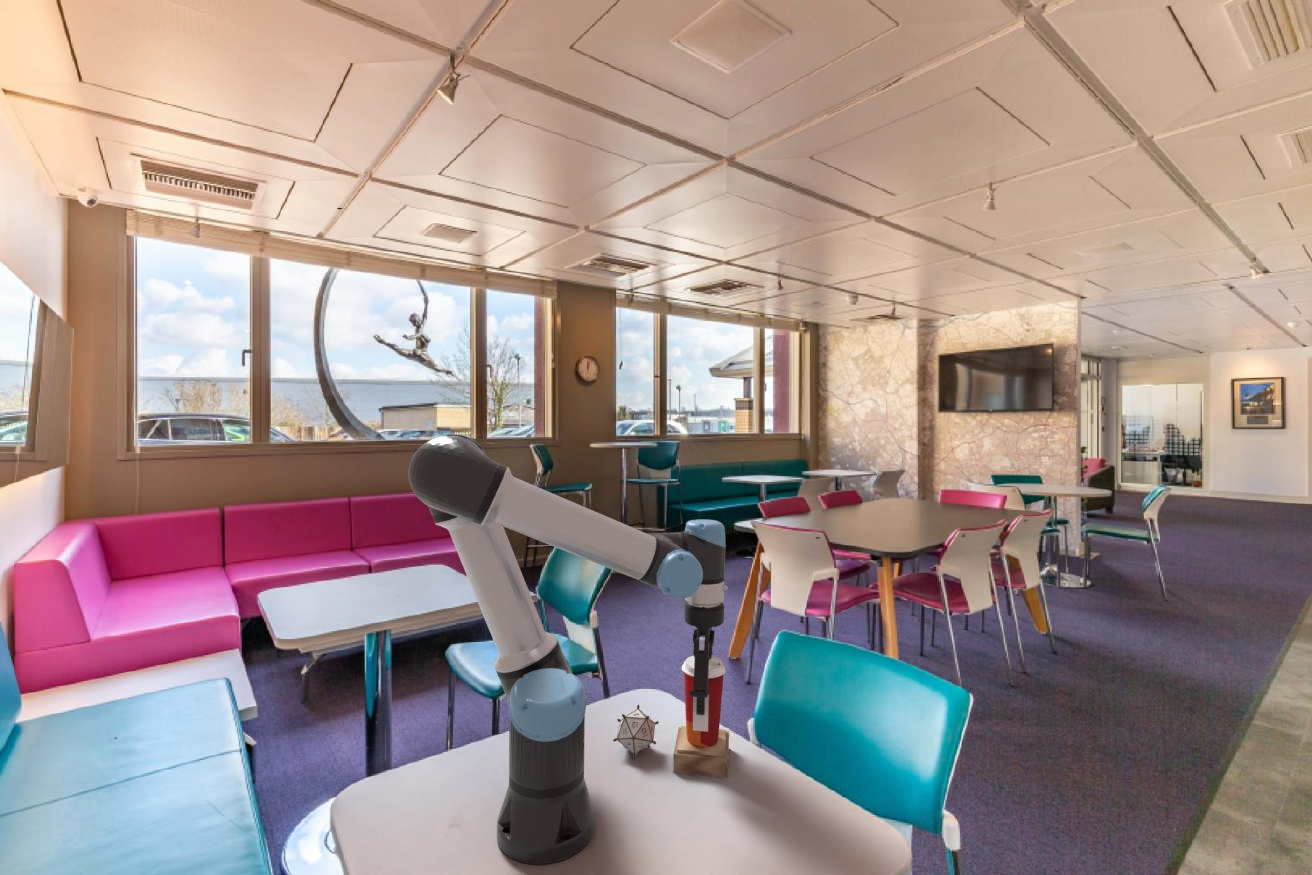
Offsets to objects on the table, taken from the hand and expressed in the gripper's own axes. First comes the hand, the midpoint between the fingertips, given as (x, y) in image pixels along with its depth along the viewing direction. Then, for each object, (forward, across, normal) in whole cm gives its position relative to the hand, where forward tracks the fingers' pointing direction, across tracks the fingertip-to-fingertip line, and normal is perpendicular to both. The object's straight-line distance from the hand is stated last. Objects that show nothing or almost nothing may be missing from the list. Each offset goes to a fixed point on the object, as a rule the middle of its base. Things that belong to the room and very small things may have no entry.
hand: (702, 712), depth 116 cm
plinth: (+9, 0, 0) cm, 9 cm away
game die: (+9, +1, +13) cm, 16 cm away
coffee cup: (+5, 0, 0) cm, 5 cm away
